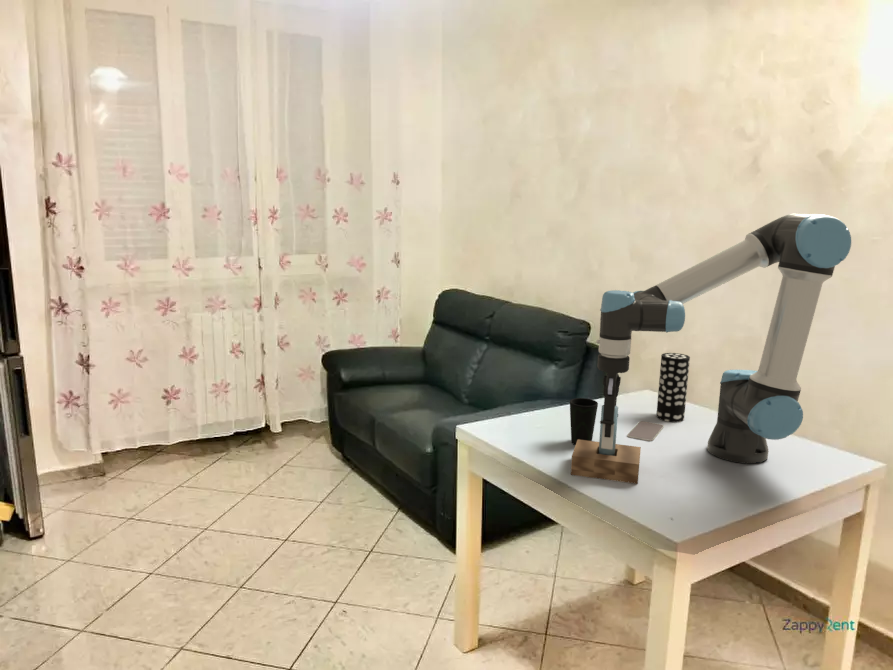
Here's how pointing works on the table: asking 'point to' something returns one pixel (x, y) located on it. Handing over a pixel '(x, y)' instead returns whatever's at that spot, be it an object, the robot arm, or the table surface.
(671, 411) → the white-spotted black cylinder
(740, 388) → the robot arm
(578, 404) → the cup
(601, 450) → the pin
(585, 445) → the bore block
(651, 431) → the smartphone
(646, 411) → the table surface
